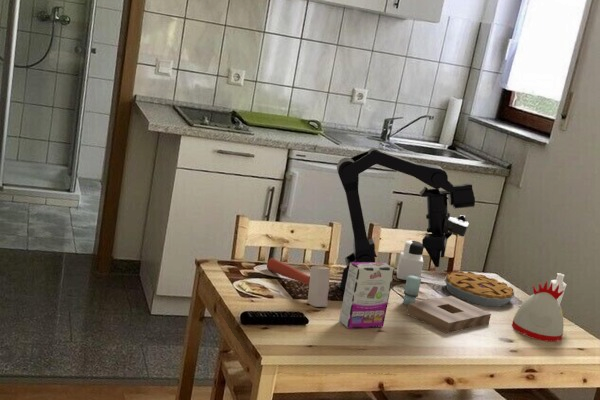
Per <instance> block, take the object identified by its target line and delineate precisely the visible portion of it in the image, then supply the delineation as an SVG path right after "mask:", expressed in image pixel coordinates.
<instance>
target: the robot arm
mask: <svg viewBox="0 0 600 400" xmlns="http://www.w3.org/2000/svg"><path fill="white" fill-rule="evenodd" d="M375 165H378V166H381V167H384V168H386V169H389V170H392V171H395V172H399V173H402V174H405V175H408V176H411V177H413V178H416V179H417V180H419V181H420V182H422V183H424V184H425V185H428V186H429V187H431V188H428V187H427V186H424V187H423V188H422V190H421V191H419V195H420V196H421V197H422V198H423V197H426V206H427V207H426V209H427V212H426V213H427V214H426V216H425V217H426V220H427V228H426V234H425V235H424V237H423V238H422V240H421V243H422V246H423V247H424V250H425V251H426V252H427V254H428V256H429V258H430V260H431V262H432V264H433V266H434V267H435V268H439V267H440V263H441V258H445V254H446V250H447V249H446V248H447V245H448V239H449V238H450V237H452V235H453V234H455V235H458V236H459V237H465V235H466V234H467V230H468V228H469V224H470V223H469V221H467V217H466V215H463V214H460V215H459V216H458V217H457V216H456V217H453V216H451V212H450V211H449V209H448V204H449V206H452V209H455V210H456V209H465V208H467V209H468V208H474V207H475V205H476V197H475V193H474V189H473V184H471V183H464V184H453V183H452V181H449V176H448V175H449V174H448V173H447V172H446V171H445V170H444V169H443V168H442V167H441V166H440V165H437V164H431V163H430V164H429V163H419V162H414V161H412V160H409V159H406V158H403V157H400V156H397V155H393V154H391V153H389V152H385V151H382V150H380V149H378V148H375V147H373V148H370V149H369V150H367V151H364V152H362V153H359V154H356V155H353V156H352V157H343V158H341V159H340V160H338V162H337V164H336V171H337V174H338V177H339V181H340V182H341V185H342V188H343V190H344V193H345V197H346V204H347V208H348V213H349V217H350V218H349V219H350V223H351V229H352V233H353V249H352V250H353V252H352V253H350V254H349V255H347V256H345V258H344V260H345V265H346V266H345V268H343V270H342V275H341V281H340V284H336V286H335V287H336V288H337V289H340V290H341V291H343V292H345V287H346V281H347V276H348V270H349V265H350V262H376V258H378V255H377V252H376V245H375V242H374V239H373V238H369V239H368V236H367V231H366V223H365V220H364V215H363V209H362V204H361V200H360V194H359V174H361V173H364V172H366V171H367V170H369V169H370V168H371V167H373V166H375ZM440 189H442V190H440Z"/></svg>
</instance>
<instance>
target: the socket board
mask: <svg viewBox="0 0 600 400" xmlns="http://www.w3.org/2000/svg"><path fill="white" fill-rule="evenodd" d="M408 314H409V315H408ZM406 315H408V316H411V317H412V316H413V317H412V318H415V319H416V318H417V320H418V321H421V322H423V323H425V324H427V325H429V326H431V327H433V328H435V329H437V330H439V331H440V332H443V333H444V334H451V333H454V332H455V333H456V332H459V331H464V330H467V329H472V328H476V327H481V326H485V325H488V324H489V323H490V319H491V316H492V313H490V312H488V311H485V310H483V309H481V308H479V307H477V306H475V305H472V304H471V303H468V302H466V301H465V300H463V299H461V298H457V297H456V296H454V295H449V296H443V297H438V298H433V299H432V298H431V299H425V300H420V301H415V302H414V303H409V304H408V306H407V308H406Z"/></svg>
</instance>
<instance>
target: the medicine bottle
mask: <svg viewBox="0 0 600 400" xmlns="http://www.w3.org/2000/svg"><path fill="white" fill-rule="evenodd" d="M424 250H425V248H424V247H423V246H422V242H420V241H417V240H406V241H405V243H404V247H403V251H401V252H400V254H399V258H398V262H397V268H396V278H397V279H399V280H404V281H407V276H416V277H419V278H421V275H422V270H423V265H424V258H423V253H424Z"/></svg>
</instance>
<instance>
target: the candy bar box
mask: <svg viewBox="0 0 600 400" xmlns="http://www.w3.org/2000/svg"><path fill="white" fill-rule="evenodd" d="M394 273H395V267H393V266H392V265H390V264H389V263H387V262H382V261H381V262H377V261H375V262H350V265H349V270H348V276H347V281H346V287H345V291H343V292H344V294H343V299H342V302H341V303H342V304H341V308H340V315H339V320H338V322H340V324H341V325H343V326H344V327H345V328H346V329H350V330H351V329H370V328H371V329H372V328H373V329H374V328H384V325H385V321H386V320H385V319H386V314H387V308H388V304H389V299H390V293H391V289H392V283H393V278H394V275H395V274H394Z"/></svg>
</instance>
